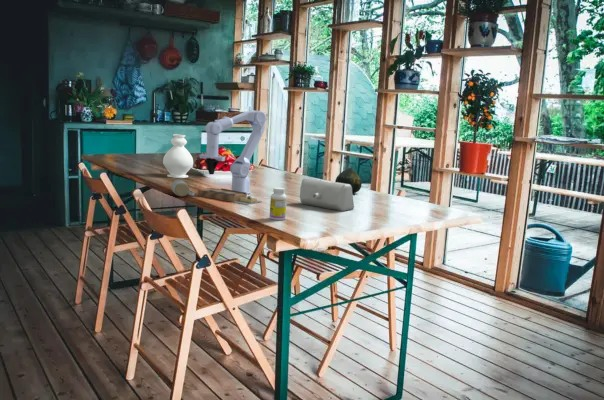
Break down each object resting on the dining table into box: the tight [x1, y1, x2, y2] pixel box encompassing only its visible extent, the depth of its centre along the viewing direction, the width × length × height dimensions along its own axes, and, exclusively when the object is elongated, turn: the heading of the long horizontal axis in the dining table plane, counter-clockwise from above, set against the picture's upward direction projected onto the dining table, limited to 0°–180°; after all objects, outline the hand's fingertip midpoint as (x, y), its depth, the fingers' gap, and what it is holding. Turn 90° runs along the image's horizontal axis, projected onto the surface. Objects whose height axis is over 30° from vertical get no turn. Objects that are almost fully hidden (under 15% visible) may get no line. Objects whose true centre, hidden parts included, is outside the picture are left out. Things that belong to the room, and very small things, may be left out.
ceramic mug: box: [171, 178, 195, 198], centre depth 272 cm, size 11×8×8 cm
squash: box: [334, 167, 363, 194], centre depth 318 cm, size 14×15×15 cm
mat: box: [233, 200, 263, 206], centre depth 267 cm, size 12×8×1 cm, turn 149°
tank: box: [299, 177, 355, 212], centre depth 266 cm, size 25×16×12 cm, turn 54°
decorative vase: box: [162, 133, 194, 179], centre depth 337 cm, size 18×18×25 cm
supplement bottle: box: [269, 187, 288, 221], centre depth 231 cm, size 7×7×13 cm
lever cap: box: [239, 195, 258, 204], centre depth 267 cm, size 7×5×3 cm
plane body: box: [197, 187, 248, 203], centre depth 274 cm, size 22×10×4 cm, turn 59°
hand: (211, 174), depth 279 cm, fingers closed
